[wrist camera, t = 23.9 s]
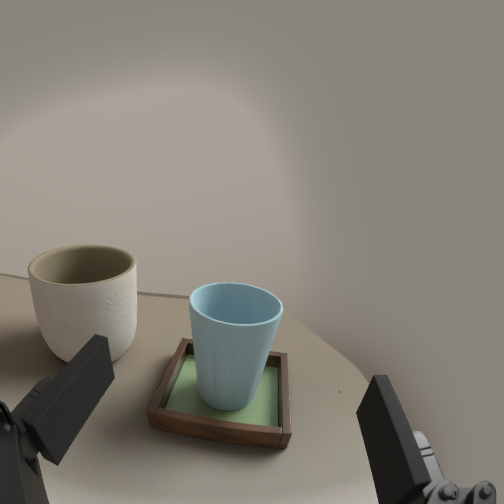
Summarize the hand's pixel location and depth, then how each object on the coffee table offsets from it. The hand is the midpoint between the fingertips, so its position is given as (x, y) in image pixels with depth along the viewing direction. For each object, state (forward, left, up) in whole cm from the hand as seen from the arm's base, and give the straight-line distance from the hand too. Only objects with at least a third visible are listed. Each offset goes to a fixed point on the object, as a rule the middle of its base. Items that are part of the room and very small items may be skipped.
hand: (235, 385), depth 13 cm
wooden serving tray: (+1, -11, -12) cm, 17 cm away
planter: (+18, -14, -12) cm, 26 cm away
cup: (+1, -11, -12) cm, 16 cm away
